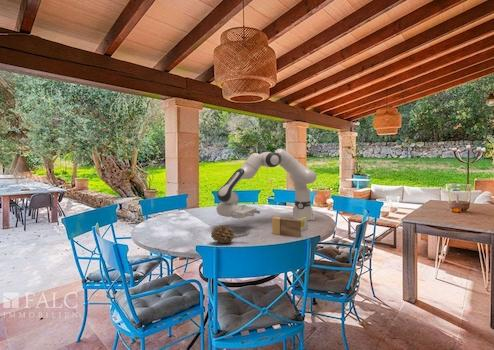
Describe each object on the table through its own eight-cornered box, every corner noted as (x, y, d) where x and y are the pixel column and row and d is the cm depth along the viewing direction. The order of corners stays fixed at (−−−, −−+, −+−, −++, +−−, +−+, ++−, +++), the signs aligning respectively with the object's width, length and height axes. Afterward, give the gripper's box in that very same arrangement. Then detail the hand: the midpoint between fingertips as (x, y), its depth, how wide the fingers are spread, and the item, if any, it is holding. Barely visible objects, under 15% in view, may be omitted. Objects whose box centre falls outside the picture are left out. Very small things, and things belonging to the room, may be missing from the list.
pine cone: (210, 246, 156) (210, 228, 156) (211, 241, 166) (211, 224, 165) (250, 244, 159) (250, 227, 158) (248, 239, 168) (248, 223, 167)
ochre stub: (274, 232, 182) (274, 217, 181) (281, 233, 179) (281, 217, 179) (272, 233, 179) (272, 218, 178) (279, 234, 177) (279, 218, 176)
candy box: (305, 228, 192) (305, 216, 191) (307, 229, 190) (308, 217, 190) (292, 234, 179) (292, 221, 178) (295, 234, 178) (295, 221, 177)
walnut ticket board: (282, 233, 180) (282, 218, 179) (300, 236, 174) (300, 219, 174) (280, 235, 176) (280, 219, 175) (298, 237, 171) (298, 221, 170)
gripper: (230, 209, 181) (249, 211, 175) (245, 204, 199) (263, 206, 193) (230, 219, 182) (249, 221, 175) (245, 213, 200) (263, 215, 194)
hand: (256, 213), depth 184 cm, fingers open, 8 cm apart
